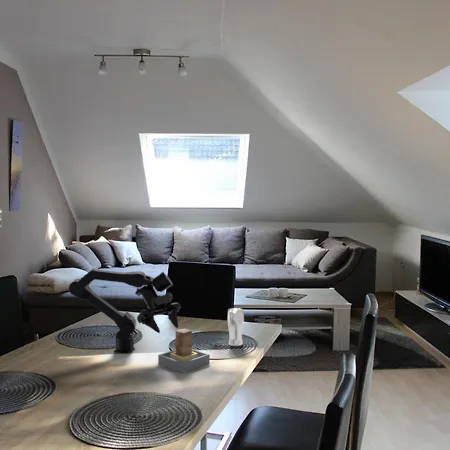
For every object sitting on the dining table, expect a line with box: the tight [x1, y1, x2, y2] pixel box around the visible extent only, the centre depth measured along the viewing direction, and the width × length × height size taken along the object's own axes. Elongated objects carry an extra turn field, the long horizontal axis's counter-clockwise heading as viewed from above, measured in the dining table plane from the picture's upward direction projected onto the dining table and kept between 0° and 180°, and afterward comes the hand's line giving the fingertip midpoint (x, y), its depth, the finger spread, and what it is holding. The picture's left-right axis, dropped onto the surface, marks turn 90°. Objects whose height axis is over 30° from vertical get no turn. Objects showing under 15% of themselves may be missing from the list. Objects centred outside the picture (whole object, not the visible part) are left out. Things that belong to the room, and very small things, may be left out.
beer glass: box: [227, 307, 245, 347], centre depth 234 cm, size 7×7×15 cm
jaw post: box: [175, 328, 193, 357], centre depth 210 cm, size 4×4×12 cm
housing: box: [157, 348, 211, 374], centre depth 211 cm, size 14×14×4 cm
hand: (168, 330), depth 217 cm, fingers open, 9 cm apart
